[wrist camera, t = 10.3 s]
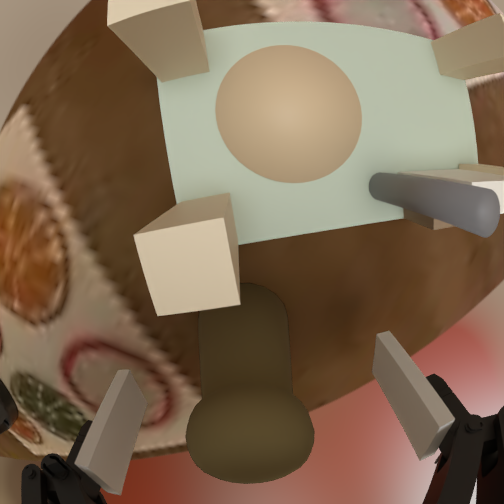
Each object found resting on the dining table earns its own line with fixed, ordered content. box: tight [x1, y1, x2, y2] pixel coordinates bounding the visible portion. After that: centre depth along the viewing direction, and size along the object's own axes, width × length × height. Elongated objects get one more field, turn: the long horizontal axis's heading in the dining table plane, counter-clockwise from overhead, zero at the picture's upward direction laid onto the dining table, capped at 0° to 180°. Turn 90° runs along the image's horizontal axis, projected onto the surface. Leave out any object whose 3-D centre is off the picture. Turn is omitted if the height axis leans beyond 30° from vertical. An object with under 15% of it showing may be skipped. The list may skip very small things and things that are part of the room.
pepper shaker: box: [186, 283, 314, 484], centre depth 13 cm, size 6×6×11 cm
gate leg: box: [398, 164, 504, 214], centre depth 11 cm, size 8×2×7 cm, turn 99°
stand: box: [107, 0, 504, 316], centre depth 10 cm, size 20×12×10 cm, turn 99°
